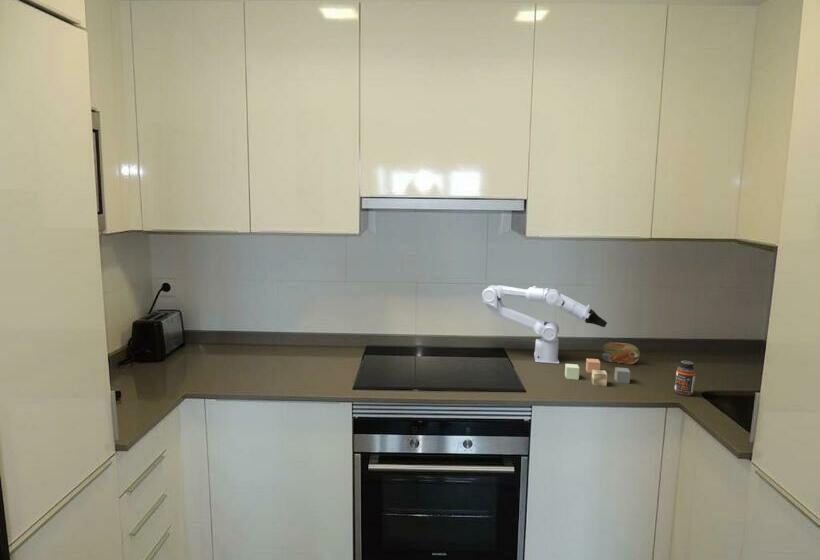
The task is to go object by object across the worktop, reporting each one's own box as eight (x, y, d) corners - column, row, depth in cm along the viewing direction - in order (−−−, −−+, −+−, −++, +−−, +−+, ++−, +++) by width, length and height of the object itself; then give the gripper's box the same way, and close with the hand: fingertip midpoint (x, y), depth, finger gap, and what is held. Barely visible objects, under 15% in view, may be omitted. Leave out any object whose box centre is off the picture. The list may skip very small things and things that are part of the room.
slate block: (616, 382, 195) (617, 371, 194) (614, 378, 199) (615, 367, 199) (629, 383, 194) (630, 372, 194) (626, 379, 199) (627, 368, 198)
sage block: (566, 378, 198) (566, 367, 197) (564, 374, 202) (565, 363, 202) (578, 379, 197) (579, 368, 197) (576, 375, 202) (577, 364, 201)
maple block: (593, 385, 192) (594, 373, 191) (591, 381, 196) (592, 369, 195) (606, 386, 191) (607, 374, 190) (604, 382, 195) (605, 370, 195)
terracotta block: (587, 373, 205) (588, 361, 205) (585, 369, 210) (586, 358, 209) (599, 374, 205) (600, 362, 204) (597, 370, 209) (598, 359, 208)
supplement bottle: (672, 393, 185) (676, 362, 183) (675, 388, 190) (678, 358, 188) (692, 397, 182) (695, 365, 180) (694, 392, 187) (697, 361, 185)
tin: (600, 361, 220) (601, 341, 219) (599, 359, 223) (601, 339, 222) (639, 365, 216) (641, 345, 214) (638, 363, 219) (640, 343, 217)
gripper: (579, 299, 206) (611, 316, 202) (577, 298, 220) (608, 314, 217) (570, 315, 206) (602, 332, 203) (569, 313, 220) (599, 329, 217)
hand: (604, 324), depth 210 cm, fingers open, 7 cm apart
